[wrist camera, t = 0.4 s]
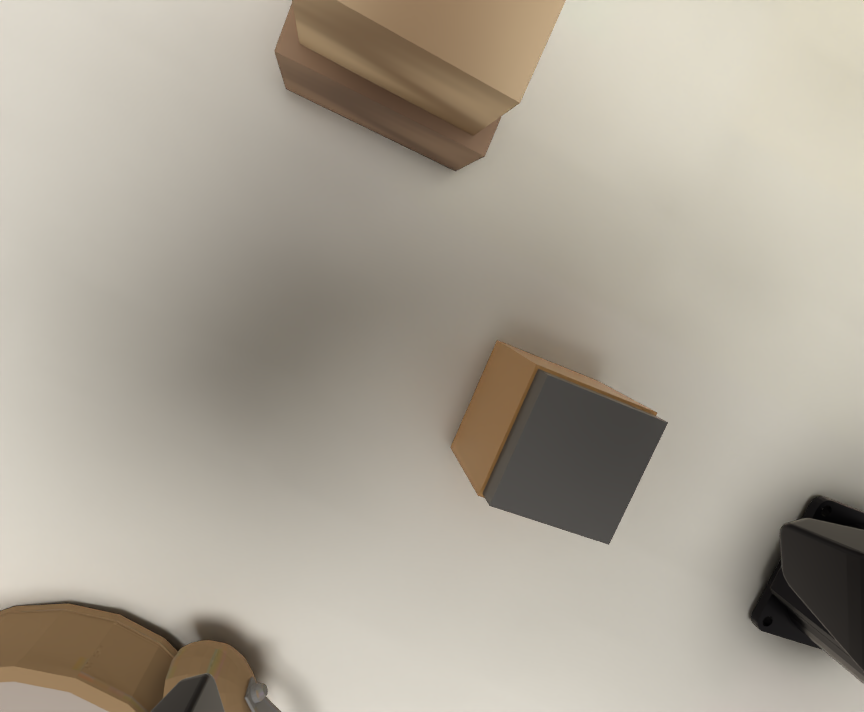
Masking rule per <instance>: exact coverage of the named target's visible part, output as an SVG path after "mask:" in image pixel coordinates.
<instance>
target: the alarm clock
mask: <svg viewBox="0 0 864 712" xmlns="http://www.w3.org/2000/svg"><path fill="white" fill-rule="evenodd" d="M204 673H209V674H211V675H212V676H213V678H214V679H215V682H216V685H217V688H218V691H219V694H220V698H221V701H222V704H223V707H224V710H225V712H281V711H280V710H279V709H278V708H277V707H276V706H275V705H274V704H273V703H272V702H271V701H270V700H269V699H268V698H267V697H266V695H267V692H268V690H267V687H266V685H265V684H262V683H257V682H256V679H255V676H254V674H253V671H252V669H251V668H250V666H249V664H248V662H247V661H246V659H245V657H244V656H242V655H241V654H240V653H239V652H238V651H237V650H236V649H235V648H233V647H232V646H230V645H228V644H227V643H222V642H217V641H212V640H204V641H197V642H193V643H190V644H188V645H186V646H184V647H182V648H180V650H179V651H177V650H176V649H175V648H174V647H173V646H172V645H171V644H170V643H169V642H168V641H167V640H166V639H165V638H163V637H162V636H160V635H158V634H156V633H154V632H152V631H150V630H148V629H146V628H144V627H143V626H141V625H139V624H137V623H135V622H133V621H131V620H129V619H127V618H125V617H124V616H122V615H120V614H115V613H110V612H106V611H101V610H96V609H92V608H87V607H83V606H78V605H73V604H69V603H67V604H48V605H29V606H14V607H11V608H8V609H5V610H2V611H0V712H150V711H151V710H152V709H153V708H154V707H155V706H156V705H157V704H158V703H159V702H160V701H161V700H162V699H163V698H164V697H165V696H166V695H167V694H168V693H169V691H170V690H171V689H172V688H173V687H174V686H175V685H176V684H177V683H178V682H179V681H181V680H182V679H185V678H189V677H193V676H196V675H200V674H204Z"/></svg>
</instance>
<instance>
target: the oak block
mask: <svg viewBox="0 0 864 712" xmlns="http://www.w3.org/2000/svg"><path fill="white" fill-rule="evenodd" d="M565 1H566V0H292V3H293V9H294V15H295V20H296V26H297V32H298V38H299V44H301V45H303V46H305V47H307V48H308V49H310V50H312V51H314V52H316V53H318V54H320V55H322V56H324V57H325V58H327V59H329V60H331V61H333V62H335V63H337V64H339V65H340V66H342V67H344V68H346V69H348V70H350V71H352V72H354V73H356V74H357V75H359V76H361V77H363V78H365V79H367V80H369V81H371V82H373V83H374V84H376V85H378V86H380V87H382V88H384V89H386V90H388V91H389V92H391V93H393V94H395V95H397V96H399V97H401V98H403V99H405V100H406V101H408V102H410V103H412V104H414V105H416V106H418V107H420V108H422V109H423V110H425V111H427V112H429V113H431V114H433V115H435V116H437V117H439V118H440V119H442V120H444V121H446V122H448V123H450V124H452V125H454V126H455V127H457V128H459V129H461V130H463V131H465V132H467V133H469V134H471V135H472V136H474V135H475V134H477V133H478V132H480V131H481V130H482V129H484V128H485V127H487V126H488V125H489V124H491V123H492V122H494V121H495V120H497V119H498V118H499V117H501V116H502V115H504V114H505V113H506V112H508V111H509V110H511V109H512V108H513V107H515V106H516V105H518V104H519V103H520V102H521V99H522V97H523V95H524V93H525V90H526V88H527V86H528V84H529V81H530V79H531V77H532V75H533V72H534V70H535V68H536V66H537V63H538V61H539V59H540V57H541V55H542V52H543V50H544V48H545V46H546V43H547V41H548V39H549V37H550V34H551V32H552V30H553V28H554V25H555V23H556V21H557V19H558V16H559V14H560V12H561V10H562V8H563V5H564V3H565Z"/></svg>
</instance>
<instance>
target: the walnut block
mask: <svg viewBox="0 0 864 712" xmlns="http://www.w3.org/2000/svg"><path fill="white" fill-rule="evenodd" d="M275 55H276V58H277V61H278V65H279V68H280V71H281V74H282V78H283V81H284V84H285V87H286V89H288V90H290V91H292V92H294V93H296V94H298V95H300V96H302V97H304V98H306V99H308V100H310V101H312V102H314V103H316V104H319V105H321V106H323V107H325V108H327V109H329V110H331V111H333V112H335V113H337V114H339V115H341V116H343V117H345V118H347V119H349V120H351V121H353V122H356V123H358V124H360V125H362V126H364V127H366V128H368V129H370V130H372V131H374V132H376V133H378V134H380V135H382V136H384V137H386V138H388V139H391V140H393V141H395V142H397V143H399V144H401V145H403V146H405V147H407V148H409V149H411V150H413V151H415V152H417V153H419V154H421V155H423V156H425V157H428V158H430V159H432V160H434V161H436V162H438V163H440V164H442V165H444V166H446V167H448V168H450V169H452V170H454V171H457V170H459V169H461V168H463V167H465V166H467V165H469V164H470V163H472V162H474V161H476V160H478V159H480V158H482V157H484V156H485V154H486V152H487V149H488V147H489V145H490V142H491V140H492V138H493V135H494V133H495V130H496V128H497V126H498V123H499V121H500V119H501V117H499V118H498V119H497V120H495V121H494V122H492V123H491V124H489V125H488V126H487V127H485V128H484V129H482V130H481V131H480V132H478V133H477V134H475V135H474V136H472V135H471V134H469V133H467V132H465V131H463V130H461V129H459V128H457V127H455V126H454V125H452V124H450V123H448V122H446V121H444V120H442V119H440V118H439V117H437V116H435V115H433V114H431V113H429V112H427V111H425V110H423V109H422V108H420V107H418V106H416V105H414V104H412V103H410V102H408V101H406V100H405V99H403V98H401V97H399V96H397V95H395V94H393V93H391V92H389V91H388V90H386V89H384V88H382V87H380V86H378V85H376V84H374V83H373V82H371V81H369V80H367V79H365V78H363V77H361V76H359V75H357V74H356V73H354V72H352V71H350V70H348V69H346V68H344V67H342V66H340V65H339V64H337V63H335V62H333V61H331V60H329V59H327V58H325V57H324V56H322V55H320V54H318V53H316V52H314V51H312V50H310V49H308V48H307V47H305V46H303V45H301V44H299V38H298V32H297V26H296V20H295V15H294V9H293V3H292V5H291V7H290V10H289V13H288V15H287V18H286V21H285V24H284V26H283V29H282V32H281V35H280V37H279V40H278V43H277V45H276V48H275Z"/></svg>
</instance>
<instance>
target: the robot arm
mask: <svg viewBox="0 0 864 712" xmlns="http://www.w3.org/2000/svg"><path fill="white" fill-rule="evenodd" d="M780 546H781V559H780V561H779V563H778V565H777V567H776V569H775V571H774V573H773V574H772V576H771V578H770V580H769V582H768V584H767V586H766V588H765V590H764V592H763V593H762V595H761V597H760V599H759V601H758V603H757V605H756V607H755V609H754V610H753V612H752V615H751V621H752V623H753V624H754V625H755V626H756V627H757V628H758V629H760V630H761V631H764V632H767V633H770V634H773V635H777V636H780V637H783V638H787V639H790V640H793V641H796V642H800V643H803V644H806V645H809V646H813V647H816V648H819V649H823V650H824V651H825V652H826V653H827V654H829V655H830V656H831V657H832V658H833V659H835V660H836V661H837V662H838V663H839V664H841V665H842V666H843V667H844V668H845V669H847V670H848V671H849V672H850V673H851V674H853V675H854V676H855V677H856V678H857V679H858V680H860V681H861V682H862V683H863V684H864V512H862V511H860V510H857V509H855V508H852V507H849V506H847V505H844V504H842V503H839V502H837V501H834V500H832V499H829V498H826V497H824V496H819V497H816V498H815V499H813V500H812V502H811V503H810V505H809V506H808V508H807V510H806V512H805V514H804V516H803V518H802V519H799V520H796V521H792V522H788V523H785V524H784V525H783V526H782V527H781V529H780ZM150 712H225V710H224V707H223V704H222V701H221V698H220V694H219V691H218V688H217V685H216V682H215V679H214V678H213V676H212V675H211V674H209V673H204V674H200V675H196V676H193V677H189V678H185V679H182V680H181V681H179V682H178V683H177V684H176V685H175V686H174V687H173V688H172V689H171V690H170V691H169V693H168V694H167V695H166V696H165V697H164V698H163V699H162V700H161V701H160V702H159V703H158V704H157V705H156V706H155V707H154V708H153V709H152V710H151V711H150Z"/></svg>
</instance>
